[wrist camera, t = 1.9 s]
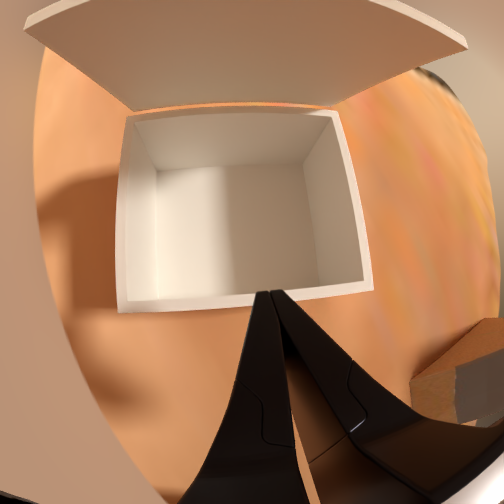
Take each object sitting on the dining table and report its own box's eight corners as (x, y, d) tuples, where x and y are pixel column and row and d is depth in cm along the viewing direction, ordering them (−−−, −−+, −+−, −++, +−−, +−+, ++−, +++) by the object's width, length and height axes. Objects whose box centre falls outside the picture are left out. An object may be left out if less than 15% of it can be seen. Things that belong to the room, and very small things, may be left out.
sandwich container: (406, 379, 22) (523, 416, 7) (484, 315, 24) (575, 310, 10) (414, 436, 21) (504, 484, 6) (489, 369, 23) (569, 379, 9)
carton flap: (468, 49, 4) (465, 37, 4) (23, 30, 3) (27, 16, 3) (330, 106, 16) (330, 100, 16) (133, 111, 14) (134, 104, 14)
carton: (324, 293, 22) (373, 289, 14) (153, 308, 20) (117, 313, 13) (305, 161, 24) (337, 111, 16) (151, 169, 22) (126, 116, 14)
